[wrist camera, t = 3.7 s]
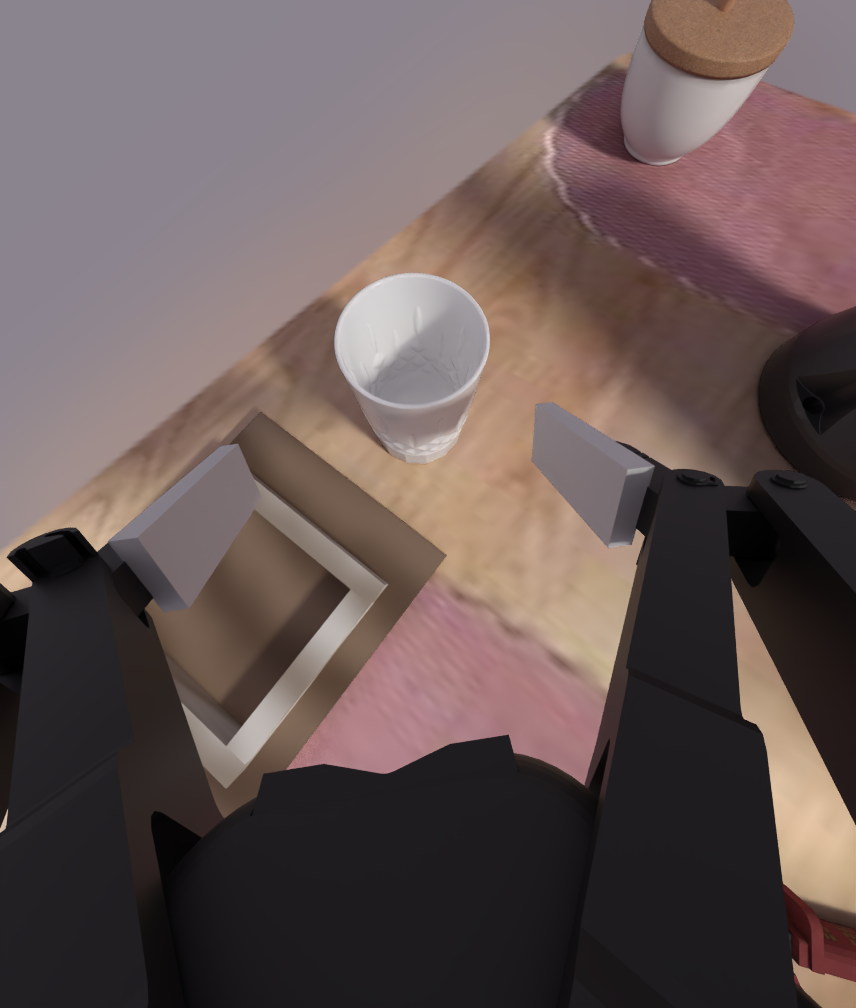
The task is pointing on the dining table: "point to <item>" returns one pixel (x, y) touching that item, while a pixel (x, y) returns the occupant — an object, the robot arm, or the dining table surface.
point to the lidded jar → (696, 71)
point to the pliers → (819, 941)
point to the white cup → (413, 361)
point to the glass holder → (287, 613)
